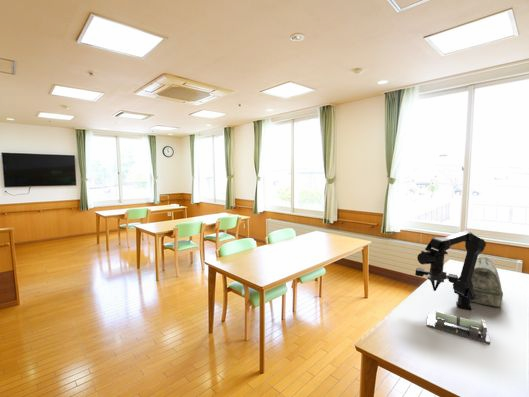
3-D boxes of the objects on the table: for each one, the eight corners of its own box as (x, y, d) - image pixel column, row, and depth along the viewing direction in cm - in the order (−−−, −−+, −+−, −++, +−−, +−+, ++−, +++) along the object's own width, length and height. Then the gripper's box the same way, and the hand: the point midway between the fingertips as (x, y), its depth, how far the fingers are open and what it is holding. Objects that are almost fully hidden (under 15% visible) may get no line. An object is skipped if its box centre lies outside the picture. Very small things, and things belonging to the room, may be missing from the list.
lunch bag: (461, 284, 179) (465, 252, 176) (498, 292, 168) (502, 258, 165) (460, 300, 158) (464, 264, 155) (502, 310, 147) (506, 272, 144)
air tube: (435, 316, 137) (436, 309, 136) (480, 327, 127) (481, 320, 126) (435, 321, 134) (435, 314, 133) (481, 334, 124) (482, 326, 123)
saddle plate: (428, 314, 143) (428, 304, 142) (486, 330, 129) (487, 318, 129) (426, 326, 133) (427, 314, 132) (489, 344, 120) (491, 331, 119)
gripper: (415, 263, 141) (413, 291, 143) (459, 271, 130) (456, 302, 132) (417, 257, 150) (415, 284, 152) (458, 264, 140) (455, 293, 142)
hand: (434, 290), depth 144 cm, fingers closed
